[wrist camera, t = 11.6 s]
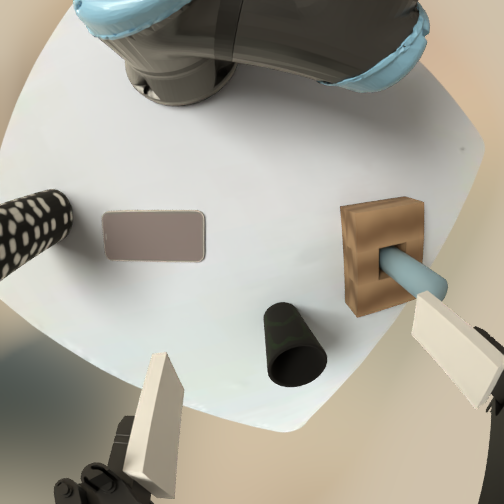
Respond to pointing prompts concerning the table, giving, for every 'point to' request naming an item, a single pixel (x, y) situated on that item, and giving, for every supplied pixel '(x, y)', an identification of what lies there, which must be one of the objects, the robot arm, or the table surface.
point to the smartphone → (154, 235)
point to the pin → (411, 273)
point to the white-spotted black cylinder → (31, 227)
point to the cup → (291, 347)
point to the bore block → (367, 250)
